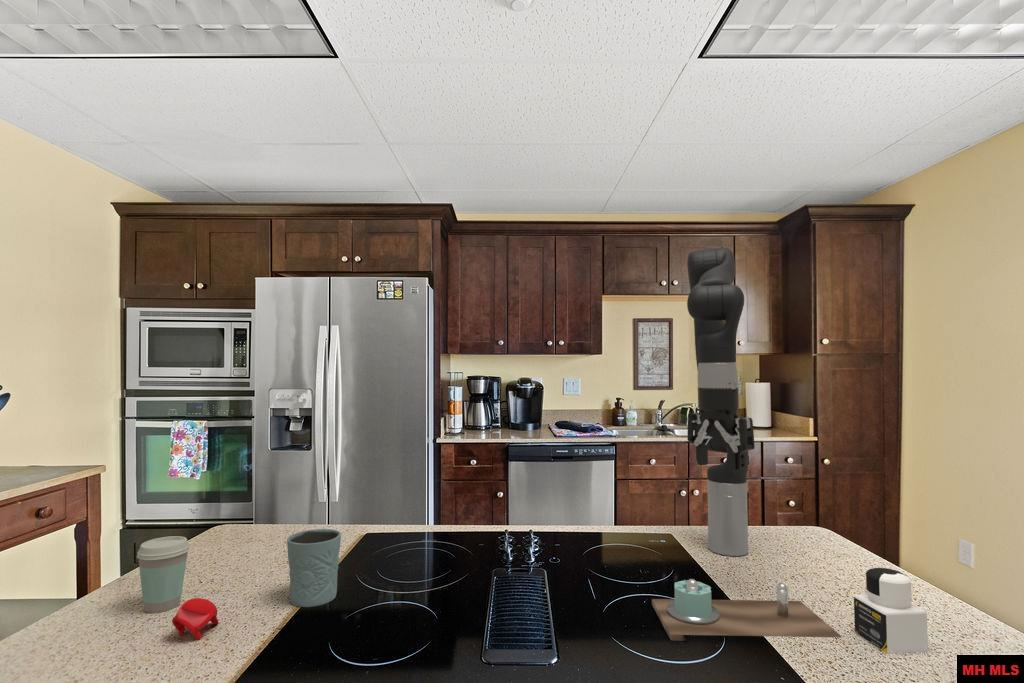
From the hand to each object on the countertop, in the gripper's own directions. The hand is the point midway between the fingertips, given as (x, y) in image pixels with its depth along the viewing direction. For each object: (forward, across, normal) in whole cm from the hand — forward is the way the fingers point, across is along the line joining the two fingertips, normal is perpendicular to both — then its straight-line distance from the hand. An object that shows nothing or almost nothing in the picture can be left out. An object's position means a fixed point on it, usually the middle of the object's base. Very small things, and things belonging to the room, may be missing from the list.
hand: (719, 468), depth 107 cm
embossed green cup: (+25, -39, -70) cm, 84 cm away
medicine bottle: (+26, +25, +9) cm, 37 cm away
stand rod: (+26, +11, +2) cm, 28 cm away
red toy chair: (+24, -33, -90) cm, 99 cm away
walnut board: (+25, +8, -5) cm, 27 cm away
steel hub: (+25, +3, -11) cm, 28 cm away
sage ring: (+24, +3, -11) cm, 26 cm away
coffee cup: (+24, -49, -96) cm, 110 cm away
